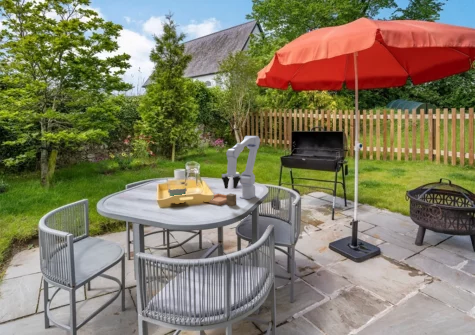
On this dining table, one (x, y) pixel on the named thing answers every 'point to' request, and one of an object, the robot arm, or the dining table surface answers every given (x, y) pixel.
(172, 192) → the food container
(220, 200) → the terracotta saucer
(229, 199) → the walnut block
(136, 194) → the dining table surface
